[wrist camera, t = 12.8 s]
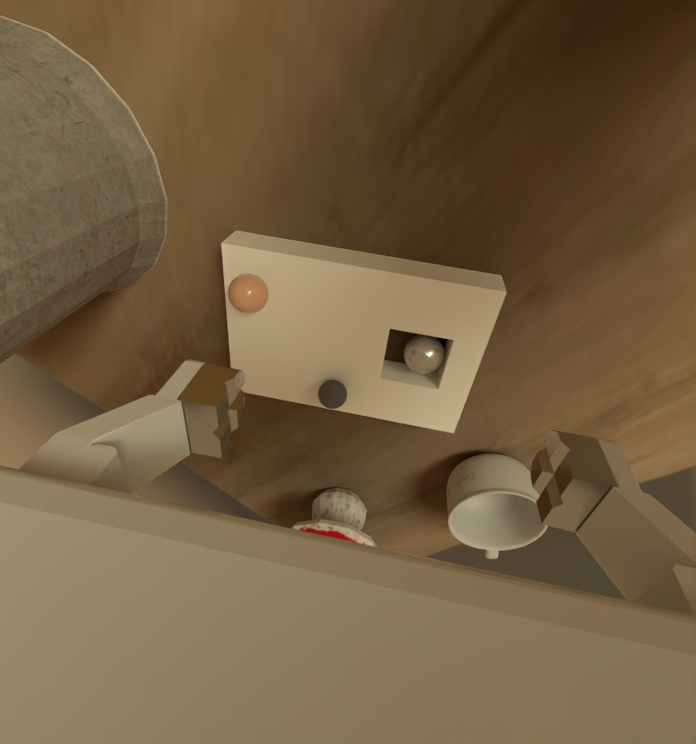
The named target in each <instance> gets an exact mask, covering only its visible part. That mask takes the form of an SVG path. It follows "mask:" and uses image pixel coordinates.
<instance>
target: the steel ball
mask: <svg viewBox="0 0 696 744" xmlns="http://www.w3.org/2000/svg"><path fill="white" fill-rule="evenodd" d="M443 358H444V349H443V346H442V344H441V342H440V341H439V340H438V339H437V338H436V337H433V336H428V335H422V334H418V335H416V336H414V337H412V338H411V339H410V340H409V341H408V342H407V343H406V345H405V348H404V360H405V362H406V364H407V366H408V367H409V368H410V369H411V370H413V371H415V372H417V373H422V374H425V373H430V372H433V371H435V370H436V369H437V368H438V367H439V366H440V365H441V363H442V361H443Z"/></svg>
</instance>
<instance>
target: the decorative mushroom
mask: <svg viewBox="0 0 696 744" xmlns="http://www.w3.org/2000/svg"><path fill="white" fill-rule="evenodd" d="M366 512H367V510H366V508H365V506H364V504H363V502H362V501H361V499H360V498H359V496H358V495H356V494H355V493H353V492H351V491H350V490H346V489H341V488H333V489H327V490H326V491H324V492H323V493H322V494H320V495H319V496H318V497H317V498H316V499H314V501H313V506H312V519H313V520H310V521H303V522H297V523H296V524H294V525H293V526H292V527H291V529H296V530H301V531H305V532H310V533H315V534H319V535H324V536H329V537H333V538H338V539H342V540H347V541H352V542H356V543H361V544H366V545H370V546H375V547H377V545H376V544H375V542H374V541H373V539H372V538H371V537H370V536H368V535H366V534H365V533H363V532H361V531H360V530H361V529H362V527H363V525H364V523H365V518H366Z"/></svg>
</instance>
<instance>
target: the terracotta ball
mask: <svg viewBox="0 0 696 744" xmlns="http://www.w3.org/2000/svg"><path fill="white" fill-rule="evenodd" d="M228 296H229V300H230V302H231V304H232V305H233V306H234V307H235V308H236V309H237V310H239V311H241V312H243V313H255V312H258V311H259V310H261V309H262V308H263V307H264V306H265V305H266V303H267V300H268V288H267V286H266V284H265V282H264V281H263V280H262V279H261V278H260V277H258V276H256V275H254V274H248V273H247V274H241V275H239V276H237V277H236V278H234V279H233V280H232V282H231V283H230V286H229V289H228Z"/></svg>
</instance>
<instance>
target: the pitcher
mask: <svg viewBox="0 0 696 744" xmlns="http://www.w3.org/2000/svg"><path fill="white" fill-rule="evenodd" d="M166 237H167V196H166V192H165V189H164V185H163V181H162V178H161V174H160V171H159V167H158V163H157V160H156V156H155V154H154V152H153V150H152V148H151V146H150V144H149V143H148V141H147V139H146V137H145V135H144V133H143V132H142V130H141V128H140V126H139V124H138V122H137V121H136V119H135V117H134V115H133V113H132V111H131V109H130V108H129V107H128V106H127V105H126V103H125V102H124V101H123V100H122V99H121V98H120V96H119V95H118V94H117V93H116V92H115V91H114V89H113V88H112V87H111V86H110V85H109V84H108V82H107V81H106V80H105V79H104V78H103V77H102V75H101V74H100V73H99V72H98V71H97V70H96V69H95V67H94V66H93V65H91V64H90V63H89V62H87V61H86V60H85V59H83V58H82V57H81V56H79V55H78V54H76V53H75V52H74V51H72V50H71V49H70V48H68V47H67V46H65V45H64V44H63V43H61V42H60V41H59V40H57V39H56V38H55V37H53V36H52V35H50V34H49V33H48V32H45V31H42V30H40V29H37V28H34V27H31V26H28V25H26V24H23V23H20V22H17V21H14V20H12V19H9V18H6V17H3V16H0V363H2V362H3V361H5V359H7V358H9V357H10V356H12V355H13V354H15V353H16V352H18V351H19V350H20V349H22V348H23V347H25V346H26V345H28V344H29V343H31V342H32V341H33V340H35V339H36V338H38V337H39V336H41V335H42V334H43V333H45V332H46V331H48V330H49V329H51V328H52V327H54V326H55V325H56V324H58V323H59V322H61V321H62V320H64V319H65V318H67V317H68V316H69V315H71V314H72V313H74V312H75V311H77V310H78V309H79V308H81V307H82V306H84V305H85V304H87V303H88V302H90V301H91V300H92V299H94V298H95V297H97V296H98V295H100V294H101V293H103V292H110V291H114V290H117V289H120V288H123V287H126V286H129V285H132V284H135V283H137V282H138V281H139V280H140V279H141V278H142V277H143V276H145V275H146V274H147V273H148V272H149V271H150V270H151V269H152V268H153V267H154V266H155V265H156V263H157V260H158V258H159V255H160V253H161V250H162V248H163V245H164V242H165V240H166Z"/></svg>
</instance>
